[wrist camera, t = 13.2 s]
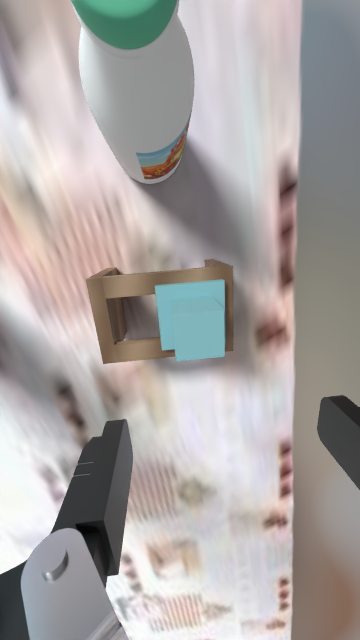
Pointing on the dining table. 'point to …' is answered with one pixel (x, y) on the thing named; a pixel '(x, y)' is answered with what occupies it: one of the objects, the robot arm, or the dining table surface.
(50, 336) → the dining table surface
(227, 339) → the brown keyhole frame
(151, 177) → the milk bottle
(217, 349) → the teal peg
